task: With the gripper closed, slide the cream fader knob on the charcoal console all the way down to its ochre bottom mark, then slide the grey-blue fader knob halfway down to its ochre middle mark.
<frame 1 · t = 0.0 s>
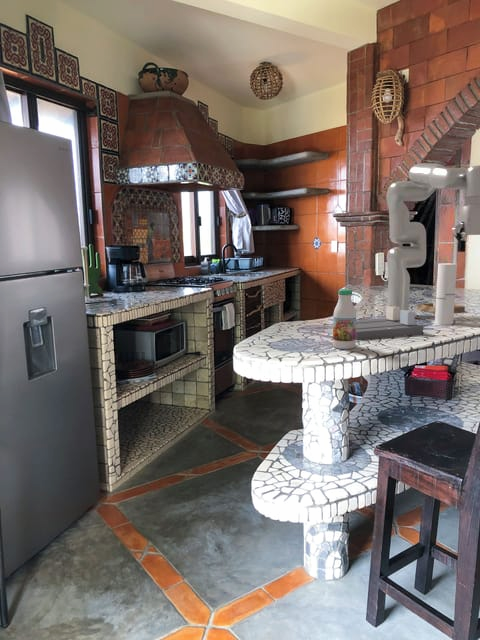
hand: (472, 251, 168), 31 cm above the table, fingers open, 9 cm apart
teacup: (440, 311, 228), resting in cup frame
milk bottle: (344, 347, 161), on the table
cylindrical container: (443, 323, 197), on the table
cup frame: (440, 310, 228), on the table
fader console: (376, 331, 184), on the table
cream fader: (392, 312, 190), point 6 cm above the table, slide at 0.0 cm
grey fader: (407, 317, 180), point 6 cm above the table, slide at 0.0 cm
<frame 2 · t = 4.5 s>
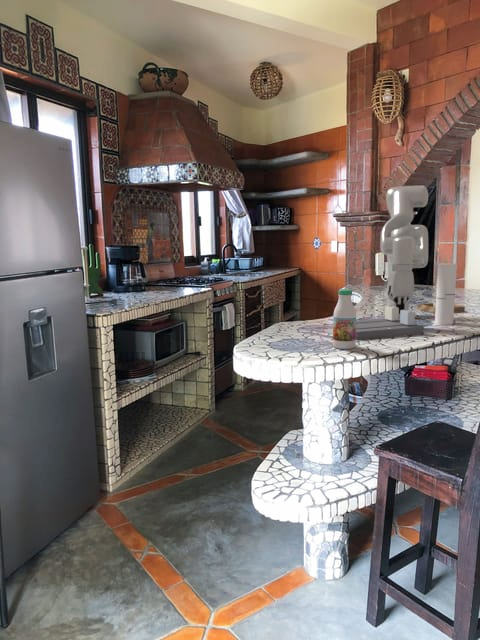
hand: (399, 313, 190), 6 cm above the table, fingers closed
teacup: (440, 311, 226), resting in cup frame
cream fader: (391, 313, 189), point 6 cm above the table, slide at 0.5 cm, touching gripper
everything else where it was.
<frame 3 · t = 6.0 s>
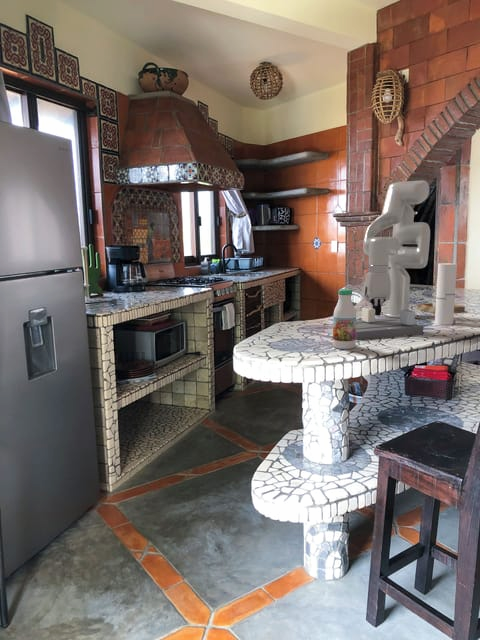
hand: (376, 315, 188), 6 cm above the table, fingers closed
cream fader: (368, 314, 187), point 6 cm above the table, slide at 11.0 cm, touching gripper
everything else where it was.
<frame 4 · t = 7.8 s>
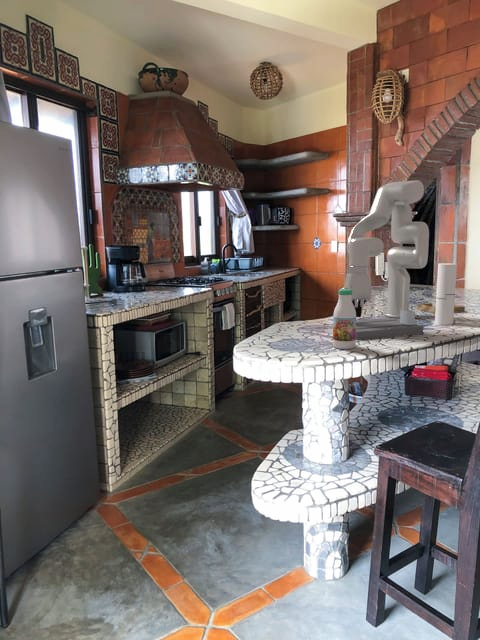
hand: (357, 316, 186), 6 cm above the table, fingers closed
cream fader: (348, 316, 185), point 6 cm above the table, slide at 19.7 cm, touching gripper
everything else where it was.
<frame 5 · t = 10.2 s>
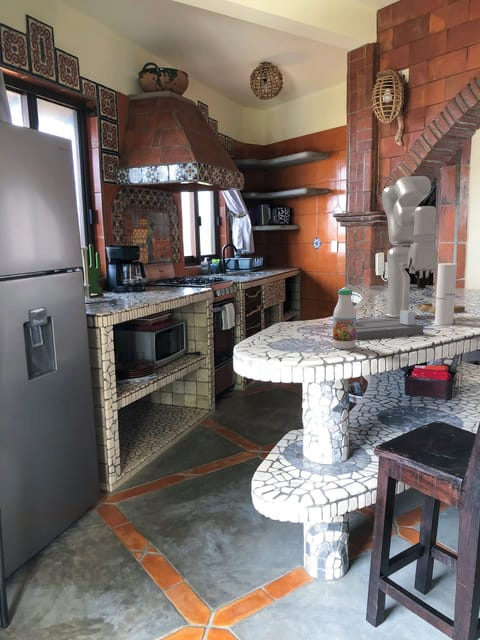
hand: (421, 287, 180), 17 cm above the table, fingers closed
cream fader: (348, 316, 185), point 6 cm above the table, slide at 19.7 cm
everything else where it was.
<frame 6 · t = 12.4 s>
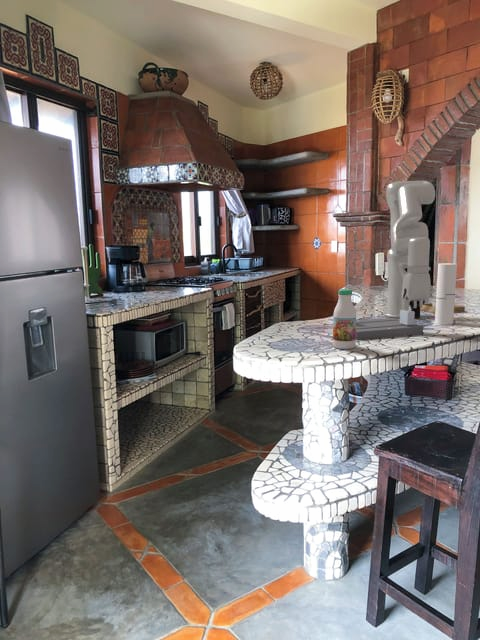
hand: (415, 317, 181), 6 cm above the table, fingers closed
grey fader: (407, 317, 180), point 6 cm above the table, slide at 0.1 cm, touching gripper
everything else where it was.
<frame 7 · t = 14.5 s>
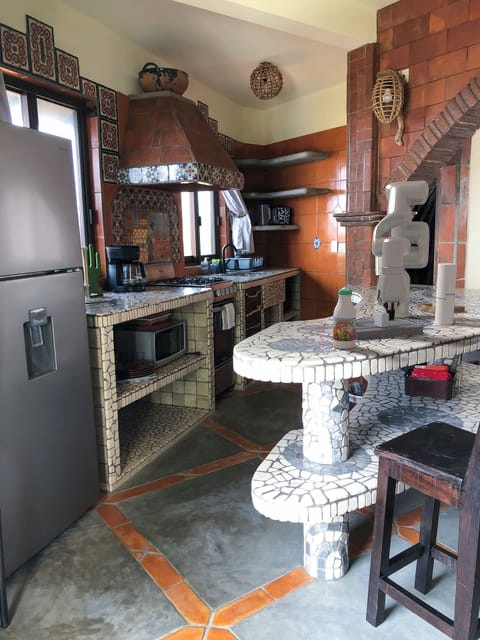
hand: (390, 319, 178), 6 cm above the table, fingers closed
grey fader: (381, 319, 177), point 6 cm above the table, slide at 11.2 cm, touching gripper
everything else where it was.
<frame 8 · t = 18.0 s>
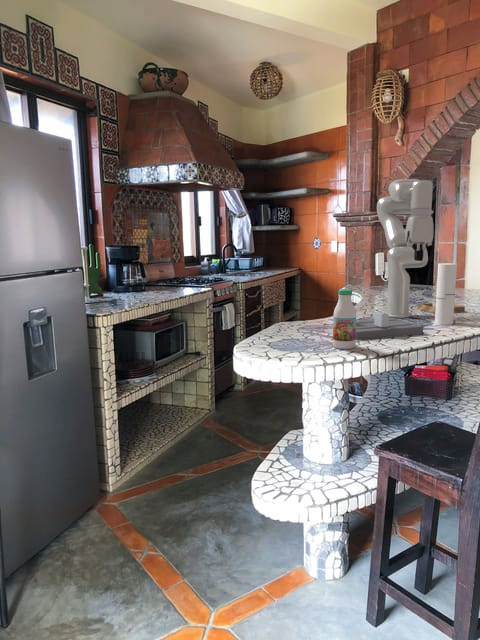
hand: (418, 260, 185), 27 cm above the table, fingers closed
grey fader: (381, 319, 177), point 6 cm above the table, slide at 11.2 cm
everything else where it was.
at the end: cream fader slide at 19.7 cm; grey fader slide at 11.2 cm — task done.
